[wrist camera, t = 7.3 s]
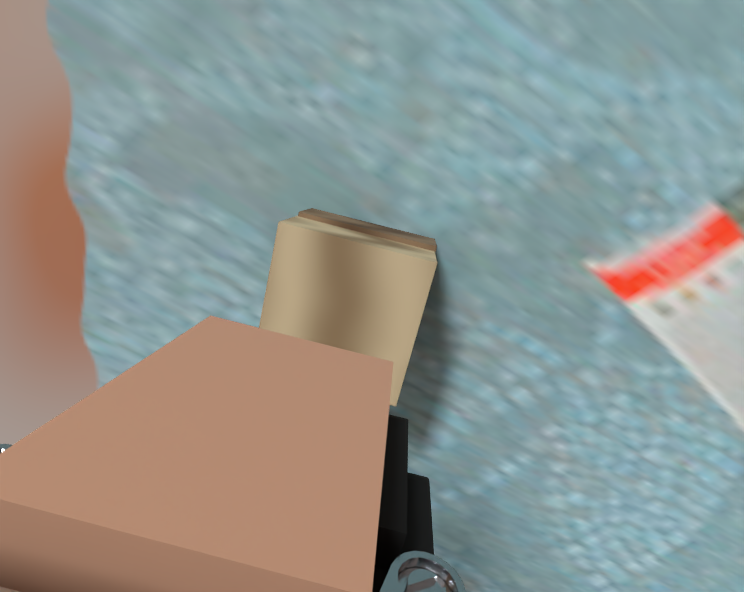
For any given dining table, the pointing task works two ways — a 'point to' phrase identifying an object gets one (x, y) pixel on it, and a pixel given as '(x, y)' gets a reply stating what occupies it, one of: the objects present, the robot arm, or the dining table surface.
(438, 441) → the dining table surface
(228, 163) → the dining table surface
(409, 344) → the slab top
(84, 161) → the dining table surface
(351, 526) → the block
